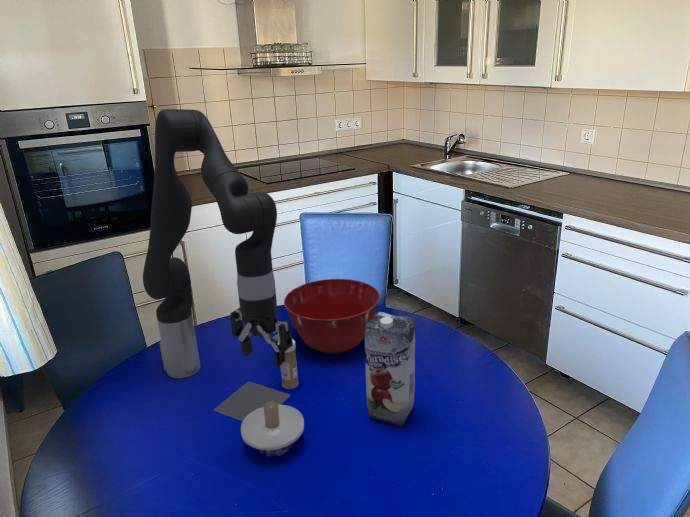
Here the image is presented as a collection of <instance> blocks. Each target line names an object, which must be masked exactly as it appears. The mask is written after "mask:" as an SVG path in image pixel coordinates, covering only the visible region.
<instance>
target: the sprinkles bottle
mask: <svg viewBox="0 0 690 517" xmlns="http://www.w3.org/2000/svg"><path fill="white" fill-rule="evenodd" d="M292 342H293V346H291V347H290V348H289V349H287V351H285V362H284V363H283V364H282V365H281V366H279V367H280V375H281V383H282V384H281V386H282V387H283V388H284V389H286V390H292V389H295V388H297V387H298V386H299V378H298V364H297V355H296V346H297V344H296V340H294V339H293V338H292ZM277 344H279V343H278V342H277Z"/></svg>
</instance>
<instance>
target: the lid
mask: <svg viewBox="0 0 690 517" xmlns="http://www.w3.org/2000/svg"><path fill="white" fill-rule="evenodd" d="M304 430H305V419H304V416H303V414H302V413H301V412H300V410H298V409H297V408H295V407H293V406H290V405H285V404H281V405H278V403H277V402H275V401H268V402H266V403H265V404H264V405H263V407H261V408H258V409H256V410H254V411H253V412H251V413H250V414H249V415H247V416H246V417H245V419H244V420H243V421H241V426H240V434H241V437H242V441H243V442H244V443H245V444H246V445H248V447H249V446H250V447H251V448H253V449H256V450H259V449H260V450H276V449H280V448H284V447H286V446H288V445H290V444H291V445H292V444H294V443H295V442H297V441H298V440H299V438H300V437H301V436H302V434H303V433H304Z"/></svg>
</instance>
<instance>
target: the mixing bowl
mask: <svg viewBox="0 0 690 517" xmlns="http://www.w3.org/2000/svg"><path fill="white" fill-rule="evenodd" d="M380 296H381V295H380V292H379V290H378V289H376V287H375V286H373V285H371V284H369V283H367V282H364V281H360V280H355V279H347V278H329V279H326V278H325V279H321V280H314V281H310V282H307V283H304V284H301V285H299V286H297V287H295V288H293V289H291V291H290V292H288V293H287V294H286V296H285V297H284V299H283V305H284V308H285V309H286V310H287V313H288V316H289V318H290V321H291V324H292V325H293V327H294V329H295V330H296V332H297V333H298V335H299V337H300V338H301V339H302V340H303V342H304V343H305V344H306V345H307V346H308V347H309V348H312V349H314V350H315V351H319V352H321V353H325V354H341V353H344V352H348V351H351V350H352V349H354V348H355V347H357V346H358V345H359V344H361V343H362V341H363V340H365V325H366V324H367V323H368V322H369V321H370V320H371V319H372V318H373V317H374V316H375V314H376V313H377V312H376V311H377V307H378V304H379V301H380Z"/></svg>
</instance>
